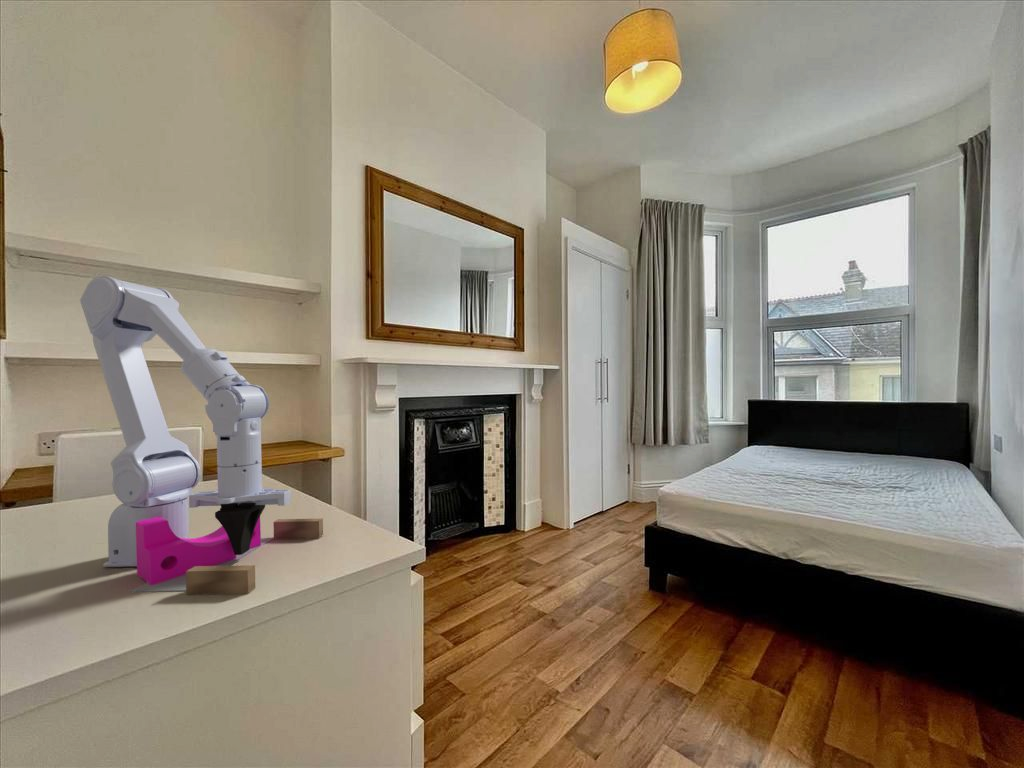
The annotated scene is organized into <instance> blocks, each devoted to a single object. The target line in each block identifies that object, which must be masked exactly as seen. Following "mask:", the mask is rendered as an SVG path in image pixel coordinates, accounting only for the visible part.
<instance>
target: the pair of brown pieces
mask: <svg viewBox="0 0 1024 768" xmlns="http://www.w3.org/2000/svg"><path fill="white" fill-rule="evenodd" d="M322 535H323V536H324V518H321V517H320V518H282V519H281V518H278V519H276V520H274V521H273V538H274V539H273V540H294V539H296V540H297V539H298V538H311V539H321V538H322V537H323V536H322ZM321 536H322V537H321ZM255 589H256V565H254V564H253V565H252V564H251V565H249V564H247V565H231V566H194V567H193V568H191V569H189V570H187V571H186V591H185V592H186V593H185V594H186V595H189V596H190V595H193V596H194V595H241V594H242V595H244V594H245V595H247V594H250V593H251V592H253V590H255Z"/></svg>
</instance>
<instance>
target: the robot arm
mask: <svg viewBox="0 0 1024 768" xmlns="http://www.w3.org/2000/svg"><path fill="white" fill-rule="evenodd" d="M79 301H80V305H81V308H82V311H83V314H84V316H85V317H84V318H85V321H86V323H87V326H88V330H89V333H90V334H91V335H92V342H93V346H94V350H95V352H96V355H97V359H98V362H99V365H100V368H101V371H102V375H103V377H104V381H105V384H106V387H107V389H108V393H109V395H110V399H111V402H112V405H113V408H114V411H115V415H116V418H117V421H118V423H119V428H120V430H121V432H122V433H121V434H122V436H123V439H124V443H125V447H124V448H123V449H122V450H120V452H119V453H118V454H117V455H116V456H115V457H114V458H113V460H111V462H110V465H111V468H112V473H113V477H112V483H111V484H112V486H111V487H112V491H113V492H114V493H113V494H114V496H115V497H116V498H117V499H118V501H120V503H121V504H119V505H118V506H116V507H115V509H114V510H113V511H112V512H111V514H110V516H109V518H108V523H107V542H108V544H107V547H108V549H107V550H108V551H107V552H108V554H107V555H108V561H106V562H104V563H103V565H102V567H104V568H107V567H110V568H112V567H113V568H114V567H116V568H117V567H137V552H136V522H138V521H143V520H147V519H152V518H156V517H161V518H163V519H165V520H167V521H168V523H169V526H170V528H171V530H172V532H173V533H174V534H175V535H176V536H177V537H180V538H186V539H190V533H189V532H190V531H189V529H190V526H189V525H190V523H189V521H190V519H189V518H190V517H189V508H191V509H193V508H194V509H195V508H199V507H220V508H219V510H217V511H215V512H214V518H215V519H216V521H218V522H219V523H220V525H221V526H223V528H224V529H225V531H226V533H227V535H228V537H229V539H230V542H231V545H232V548H233V551H234V554H235V555H242V554H243V553H245V552H247V551H248V550H249V548H250V543H251V539H252V535H253V532H254V529H255V526H256V524H257V521H258V519H259V517H260V518H261V515H262V513H263V511H264V510H265V508H266V505H267V506H272V505H277V506H279V507H280V506H281V507H282V506H284V507H285V506H286V505H288V504H290V503H291V502H292V490H291V489H276V488H274V489H273V488H263V470H262V469H263V467H262V463H263V462H262V460H263V459H262V422H261V421H262V420H261V419H263V418H265V416H266V415H267V413H268V411H269V408H270V399H269V396H268V394H267V393H266V391H265V389H264V388H263V387H262V386H260V385H259V384H258V385H257V384H251V383H250V382H249V381H247V379H246V378H245V377H244V376H243V375H241V374H240V373H239V372H238V371H237V369H235V367H233V365H232V364H231V363H230V362H229V360H227V359H229V357H228V355H227V354H226V353H225V352H224V351H219V350H217V349H215V348H206V346H205V345H204V344H203V343H202V341H201V340H200V338H199V337H198V336H197V334H196V333H195V332H194V331H193V329H192V328H191V327H190V325H189V323H188V322H187V321H186V319H185V318H184V316H182V314H181V313H180V312H179V311H180V302H179V301H177V300H176V299H175V298H174V297H173V295H172V294H171V293H170V292H169V291H168V290H166V289H164V288H161V287H153V286H152V287H151V286H147V285H142V284H139V283H134V282H129V281H124V280H120V279H117V278H114V277H111V276H108V275H99V276H96V277H94V278H93V279H91V281H89V283H88V284H87V285H86V288H85V290H84V291H83V293H82V296H81V297H80V299H79ZM156 335H157V336H158V337H159V338H160V339H161V340H162V341H164V343H165V344H166V345H167V346H168V347H170V349H171V350H172V351H174V353H175V354H177V356H179V357H180V358H181V359H182V362H181V370H180V371H181V372H182V373H183V374H184V376H185V377H186V379H187V380H189V381H190V383H191V384H192V385H193V386H194V387H195V389H196V390H197V391H198V392H199V393H200V394H201V396H203V398H204V399H205V400H206V401H207V404H205V405H204V407H205V413H206V415H207V417H208V419H209V420H210V421H211V424H212V431H213V432H212V433H214V436H216V459H217V460H216V463H217V468H216V469H217V472H216V473H217V490H210V491H198V492H194V493H193V489H194V488H195V487H196V486H197V485H198V484H199V481H200V479H201V475H202V474H201V467H200V466H201V465H200V463H199V461H198V460H197V459H196V458H195V457H194V456H193V455H192V453H191V451H190V449H189V445H188V444H187V443H185V442H183V441H181V440H179V439H177V438H176V437H174V436H172V435H171V434H170V431H169V429H168V425H167V422H166V419H165V417H164V412H163V410H162V407H161V404H160V401H159V397H158V394H157V392H156V388H155V385H154V382H153V380H152V377H151V376H152V375H151V373H150V371H149V368H148V365H147V364H148V363H147V361H146V359H145V358H146V357H145V356H144V352H143V349H142V346H143V345H144V343H146V342H150V341H151V340H153V338H155V336H156Z"/></svg>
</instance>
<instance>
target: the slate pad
mask: <svg viewBox="0 0 1024 768" xmlns="http://www.w3.org/2000/svg"><path fill="white" fill-rule="evenodd" d="M273 538H274V537H261V545H260V546H256V547H253V548H250V549H249V550H248V551H247V552H245V553H243V554H242V555H236V558H235V559H232V560H229V561H226V562H223V563H219V564H216V565H213V566H233V565H234V564H235V563H238V562H239V561H241V560H242V559H243V558H245V557H247V556H248V555H251V553H253V552H255V551H256V550H258V549H259V548H261V547H262V546H264V545H266V544H267V543H269V542H271V540H274V539H273ZM157 592H158V593H159V592H160V593H163V592H166V593H167V592H169V593H170V592H171V593H172V592H177V593H178V592H186V574H185V575H182V576H179V577H175V578H172V579H169V580H166V581H163V582H160V583H156V584H153V585H150V584H149V583H148V582H145V583H144V584H142V585H140V586H137V587H136V588H134V589H132V590H131V592H130V593H157Z"/></svg>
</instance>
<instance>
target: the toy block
mask: <svg viewBox="0 0 1024 768" xmlns="http://www.w3.org/2000/svg"><path fill="white" fill-rule="evenodd" d="M261 532H262V531H261V516H260V517H259V519H258V521H257V524H256V526H255V529H254V532H253V535H252V539H251V543H250V548H253V547H256V546H260V545H261V538H262V537H261V536H262V534H261ZM250 548H249V549H250ZM136 552H137V566H136V574H137V576H139V577H140V578H141V579H142V580H144V581H145V583H147V582H148V583H149V584H150V585H153V584H156V583H160V582H163V581H166V580H169V579H172V578H175V577H179V576H182V575H185V574H186V571H187V570H189V569H191V568H193V567H194V566H213V565H216V564H219V563H223V562H226V561H229V560H232V559H235V558H236V555H235V554H234V551H233V548H232V545H231V542H230V539H229V537H228V535H227V533H226V531H225V529H224V528H223V526H222V525H221V526H220V527H219V528H217V529H216V530H214V531H212V532H211V533H209V534H207V535H204V536H199V537H195V538H189V539H186V538H180V537H177V536H176V535H175V534H174V533H173V532H172V530H171V528H170V526H169V523H168V521H167V520H165V519H163V518H161V517H156V518H152V519H147V520H143V521H138V522H136Z"/></svg>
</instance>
